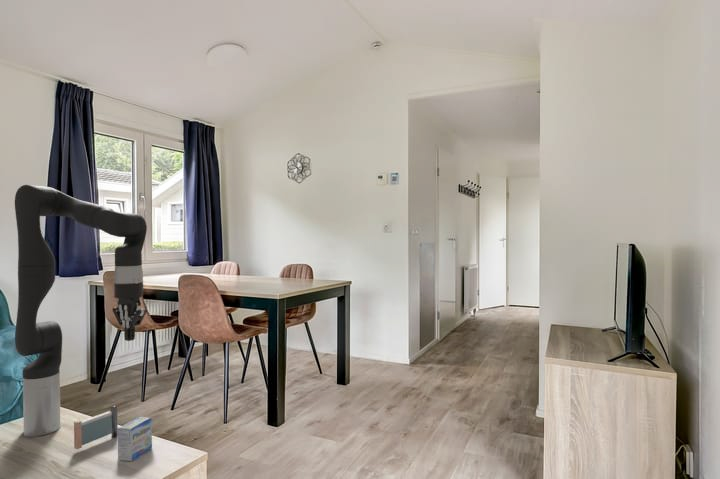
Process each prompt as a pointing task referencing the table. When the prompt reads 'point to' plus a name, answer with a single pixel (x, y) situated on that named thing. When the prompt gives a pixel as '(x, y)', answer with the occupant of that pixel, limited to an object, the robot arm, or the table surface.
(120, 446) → the medicine box
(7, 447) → the table surface
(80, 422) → the gate
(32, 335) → the robot arm
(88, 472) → the table surface
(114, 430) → the gate post
